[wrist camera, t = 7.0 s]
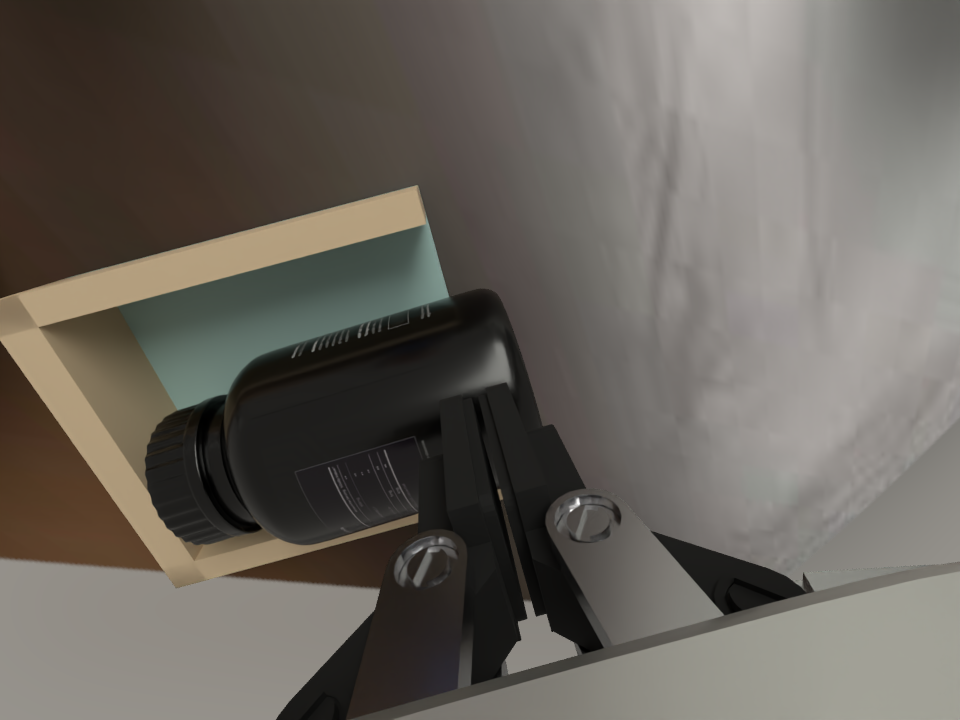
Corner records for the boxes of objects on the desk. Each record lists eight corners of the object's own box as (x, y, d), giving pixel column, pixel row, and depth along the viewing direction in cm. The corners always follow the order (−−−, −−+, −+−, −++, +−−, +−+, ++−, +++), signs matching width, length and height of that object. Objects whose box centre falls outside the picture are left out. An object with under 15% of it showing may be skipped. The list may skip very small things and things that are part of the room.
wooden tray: (417, 184, 17) (416, 189, 13) (489, 444, 22) (503, 499, 18) (71, 277, 17) (-24, 306, 13) (217, 518, 21) (176, 588, 18)
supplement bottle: (514, 377, 21) (261, 449, 21) (485, 246, 16) (159, 340, 16) (561, 513, 16) (229, 607, 16) (538, 382, 11) (70, 515, 11)
